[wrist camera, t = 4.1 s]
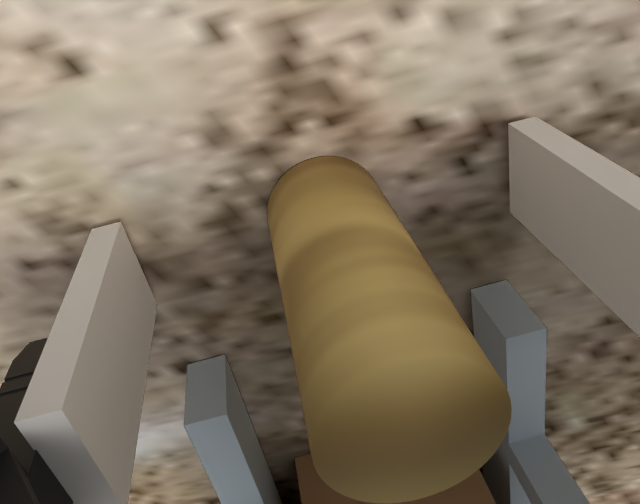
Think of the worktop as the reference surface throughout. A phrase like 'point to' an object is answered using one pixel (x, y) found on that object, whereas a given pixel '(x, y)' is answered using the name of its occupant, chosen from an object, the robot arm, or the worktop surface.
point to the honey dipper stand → (377, 350)
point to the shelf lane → (498, 472)
